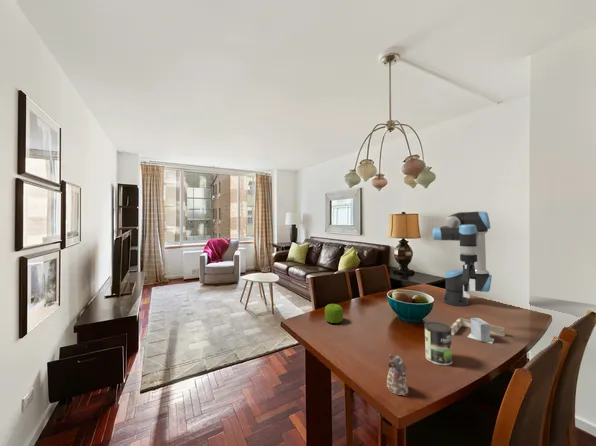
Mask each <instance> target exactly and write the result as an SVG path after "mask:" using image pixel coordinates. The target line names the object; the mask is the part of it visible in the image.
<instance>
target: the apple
mask: <svg viewBox="0 0 596 446" xmlns="http://www.w3.org/2000/svg"><path fill="white" fill-rule="evenodd" d="M343 309H344V308H343V307H342V306H341V305H340V304H338V303H329V304H327V305H326V306H324V316H325V320H326V322H328V323H329V322H330V323H329V324H331V323H337V324H339V323H341V322H343V319H344V310H343Z"/></svg>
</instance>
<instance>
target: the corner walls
mask: <svg viewBox="0 0 596 446" xmlns="http://www.w3.org/2000/svg"><path fill="white" fill-rule="evenodd" d="M489 325H490V334H492V335H496V336H501V337H505V336H506V333H505V332H506V328H505V327H502V326H499V325H493V324H491V323H489ZM450 327H451V329H452V331H451V336H455V335H456V334H457V332H458V331H459V330H460V329H461V328H462V327H464V328H469V329H471V319H467V318H463V317H458V318H457V319H456V321H454V322H453V323H452V324H451V326H450Z"/></svg>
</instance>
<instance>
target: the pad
mask: <svg viewBox="0 0 596 446" xmlns="http://www.w3.org/2000/svg"><path fill="white" fill-rule="evenodd" d="M467 338H468V339H469V338H470V339H472V340H476V341H480V340H479V339H477V338H476V337H475V336H473V335H472V334H471V332H470V333H469V334H468V335H467ZM494 341H495V338H493V337H490V341H482V342H484V343H488V344H491V345H493V343H494ZM480 342H481V341H480Z"/></svg>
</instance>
